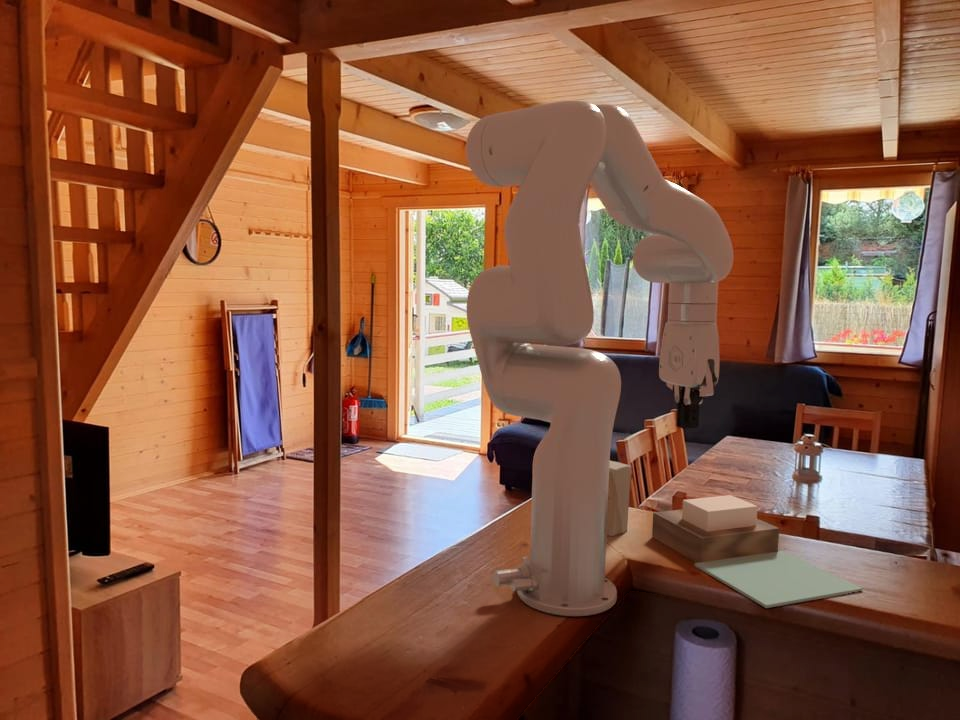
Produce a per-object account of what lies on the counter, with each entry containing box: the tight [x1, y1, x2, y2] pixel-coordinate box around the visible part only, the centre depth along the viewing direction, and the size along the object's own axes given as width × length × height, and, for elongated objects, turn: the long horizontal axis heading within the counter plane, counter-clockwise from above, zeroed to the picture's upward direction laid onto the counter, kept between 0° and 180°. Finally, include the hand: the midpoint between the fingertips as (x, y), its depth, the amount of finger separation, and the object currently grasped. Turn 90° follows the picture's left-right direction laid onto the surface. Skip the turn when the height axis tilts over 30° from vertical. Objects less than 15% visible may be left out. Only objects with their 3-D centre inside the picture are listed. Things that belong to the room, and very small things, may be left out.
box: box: [607, 460, 632, 537], centre depth 114 cm, size 5×4×11 cm
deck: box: [651, 508, 780, 563], centre depth 109 cm, size 14×12×4 cm
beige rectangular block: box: [681, 494, 758, 532], centre depth 107 cm, size 9×6×3 cm, turn 110°
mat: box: [694, 550, 864, 609], centre depth 97 cm, size 16×14×1 cm
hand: (687, 427), depth 115 cm, fingers closed
